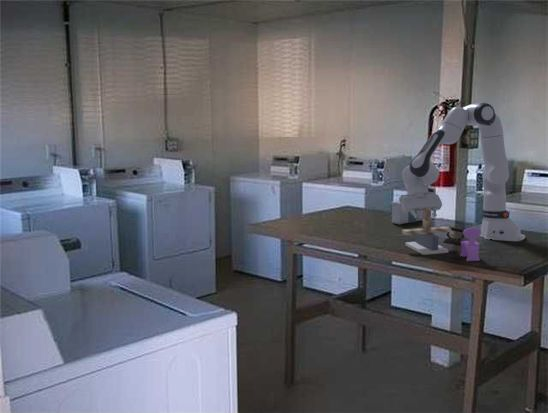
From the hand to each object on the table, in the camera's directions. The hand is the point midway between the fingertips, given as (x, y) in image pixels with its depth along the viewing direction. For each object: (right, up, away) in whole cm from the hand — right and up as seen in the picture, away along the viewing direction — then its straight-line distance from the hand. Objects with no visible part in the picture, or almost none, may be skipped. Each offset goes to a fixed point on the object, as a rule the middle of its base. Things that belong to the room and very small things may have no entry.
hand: (426, 216), depth 298 cm
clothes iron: (+19, -14, +13) cm, 26 cm away
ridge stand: (+1, -16, +2) cm, 16 cm away
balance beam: (0, -8, +1) cm, 8 cm away
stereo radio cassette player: (+6, -4, +68) cm, 68 cm away
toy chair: (+16, -19, -17) cm, 30 cm away
